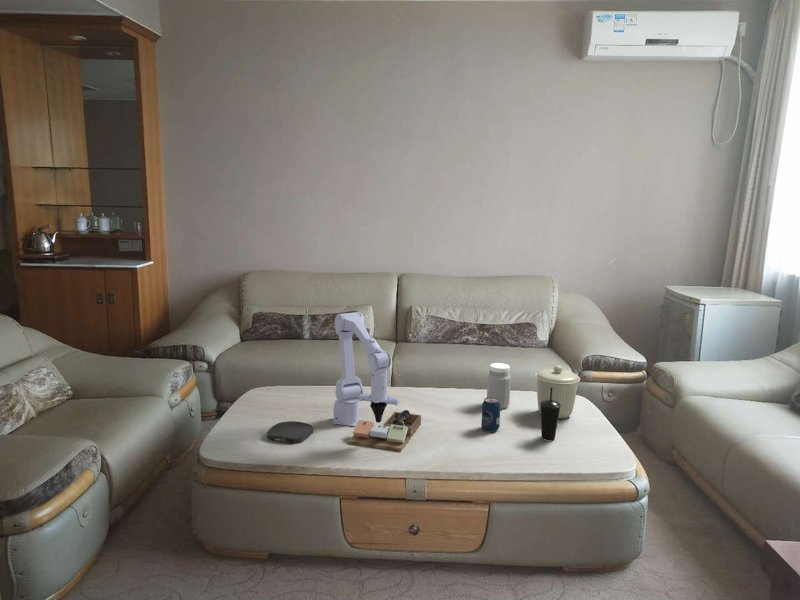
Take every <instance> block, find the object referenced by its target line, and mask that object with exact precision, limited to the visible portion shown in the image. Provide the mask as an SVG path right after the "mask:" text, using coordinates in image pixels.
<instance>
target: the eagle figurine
mask: <svg viewBox="0 0 800 600" xmlns="http://www.w3.org/2000/svg"><path fill="white" fill-rule="evenodd" d="M410 414H411V413H410V411H409V410H408V409H405V410H403V411H402V412H401V413H400V414H399V417H398V419H396V418H394V419H392V420H391V421H390V423H391V424H393V423H394V424H395V425H400V426H406V424H407V421H406V422H405V423H403V421H404V420H405V419H406V418H408V417H409V415H410ZM394 424H393V425H394Z"/></svg>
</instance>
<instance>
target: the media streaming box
mask: <svg viewBox="0 0 800 600" xmlns="http://www.w3.org/2000/svg"><path fill="white" fill-rule="evenodd" d="M313 433H314V426H313V425H312V424H311V423H310V424H309V423H307V422H303V421H296V420H295V421H294V420H293V421H291V420H290V421H289V420H287V421H283V422H278V423H276V424H274V425H272V426H271V427H270V428H269V429H267V432H266V435H267V436H266V438H268V439H269V440H268V439H267V440H268V441H270V440H272V441H271V442H275V441H277V442H276V443H283V444H284V443H285V444H291V445H292V444H293V445H296V444H301V443H304V442H305V441H306V440H307V439H309V437H311V435H312V434H313Z"/></svg>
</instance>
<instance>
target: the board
mask: <svg viewBox="0 0 800 600" xmlns="http://www.w3.org/2000/svg"><path fill="white" fill-rule="evenodd" d="M400 413H401V412H399V411H394V412H393V413H392V414H391V415H390V417H389V418H388V419H387V420H386V421H385V422H384V423H383V424H382V426H389V427H391V423H390V421H391V420H392V419H394V418H396V419H398V417H399V414H400ZM406 421H407V423H411V424H410V426H409V427H408V426H407V429H408V430H407V434H406V437H405V440H404V443H397V442H390V441H387V437H386V438H381V437H374V436H370V438H365V437H358V436H354V435H352V436H351V437H350V438H349V440H348V444H350V445H353V446H354V445H355V446H356V445H357V446H361V447H367V446H369V448H374V447H376V449H381V448H383V449H382V450H387V449H392V450H391V451H394V450H398V451H397V452H400V451H403V450H404V449H405V447H407V445H408V443H409V442H410V441H411V439H412V438H413V437H414V435H415V433H416V432H417V431H418V429H419V428H420V427H421V425H422V415H421V414H416V413H410V415H409V417H408V418H406V419H405V420H404V421H403V422H404V423H405V422H406ZM407 423H406V424H407ZM393 425H395V423H393ZM419 426H420V427H419ZM416 430H417V431H416ZM413 434H414V435H413ZM411 437H412V438H411ZM409 440H410V441H409ZM406 444H407V445H406ZM403 448H404V449H403ZM402 449H403V450H402Z"/></svg>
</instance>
